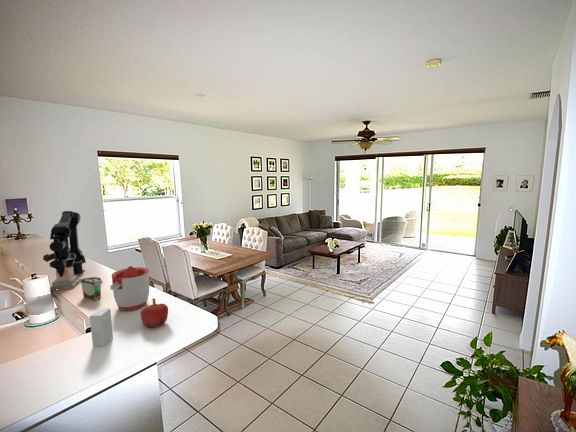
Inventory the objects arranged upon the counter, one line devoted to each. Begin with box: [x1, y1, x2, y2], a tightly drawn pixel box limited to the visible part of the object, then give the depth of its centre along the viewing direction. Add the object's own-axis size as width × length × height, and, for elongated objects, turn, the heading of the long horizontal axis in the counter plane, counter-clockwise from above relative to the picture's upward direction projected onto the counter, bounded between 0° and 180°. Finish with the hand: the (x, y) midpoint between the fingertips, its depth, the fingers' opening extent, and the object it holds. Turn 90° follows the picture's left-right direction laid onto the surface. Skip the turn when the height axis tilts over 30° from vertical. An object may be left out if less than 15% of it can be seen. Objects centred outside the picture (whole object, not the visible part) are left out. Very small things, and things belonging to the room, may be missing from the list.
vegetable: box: [140, 297, 169, 328], centre depth 116 cm, size 11×10×10 cm
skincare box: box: [89, 307, 114, 347], centre depth 103 cm, size 6×4×12 cm
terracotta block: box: [55, 267, 75, 281], centre depth 158 cm, size 6×6×6 cm
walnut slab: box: [50, 278, 82, 291], centre depth 159 cm, size 11×11×2 cm
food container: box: [80, 276, 103, 302], centre depth 143 cm, size 12×6×10 cm, turn 65°
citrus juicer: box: [110, 265, 150, 312], centre depth 132 cm, size 16×17×20 cm
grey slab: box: [51, 275, 78, 287], centre depth 158 cm, size 9×9×2 cm
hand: (65, 274), depth 158 cm, fingers open, 9 cm apart
